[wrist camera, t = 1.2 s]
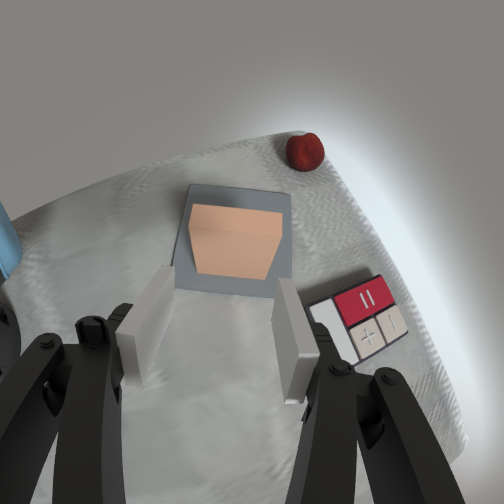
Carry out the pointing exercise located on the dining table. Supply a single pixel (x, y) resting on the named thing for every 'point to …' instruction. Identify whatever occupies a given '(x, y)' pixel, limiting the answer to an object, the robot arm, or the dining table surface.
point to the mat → (226, 284)
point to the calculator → (360, 319)
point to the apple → (304, 152)
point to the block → (234, 240)
